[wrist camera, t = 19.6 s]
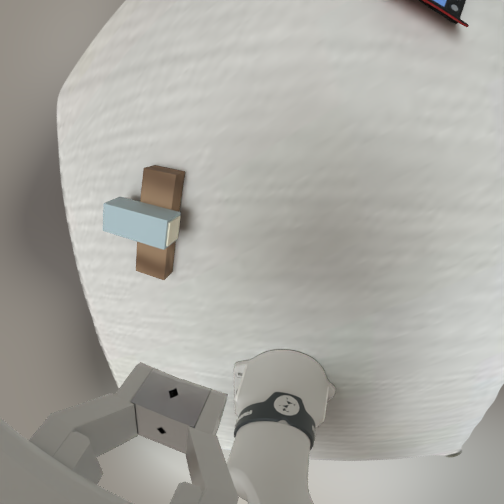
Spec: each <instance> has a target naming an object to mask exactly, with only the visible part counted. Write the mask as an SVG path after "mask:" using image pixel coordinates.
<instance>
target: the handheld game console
mask: <svg viewBox="0 0 504 504" xmlns="http://www.w3.org/2000/svg"><path fill="white" fill-rule="evenodd" d="M419 1H421V2H423V3H424V4H425V5H427V6H428V7H429V8H431V9H433V10H434V11H436V12H438V13H439V14H441V15H442V16H444V17H446V18H447V19H448V20H449V21H451V22H453V23H455V24H457V23H458V22H459V23H460V24H462V25H464V26H466V27H468V24H467V23H465V22H464V21H462V20H461V19H460V16H461V13H462V10H463V7H464V4H465V1H466V0H419Z"/></svg>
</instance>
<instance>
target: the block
mask: <svg viewBox="0 0 504 504" xmlns="http://www.w3.org/2000/svg"><path fill="white" fill-rule="evenodd" d="M180 213H181V212H178V211H174V210H170V209H166V208H162V207H159V206H155V205H151V204H147V203H143V202H139V201H135V200H131V199H127V198H123V197H118V198H115V199H113V200H111V201H108V202H106V203H104V210H103V231H106V232H109V233H112V234H115V235H118V236H121V237H125V238H128V239H131V240H134V241H137V242H140V243H144V244H147V245H150V246H153V247H157V248H160V249H163V250H165V249H166V248H167V247H168V246H170V245H171V244H172V243H173V242H174V241H176V240H177V238H178V233H179V225H180V217H181V216H180Z"/></svg>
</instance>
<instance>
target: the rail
mask: <svg viewBox="0 0 504 504" xmlns="http://www.w3.org/2000/svg"><path fill="white" fill-rule="evenodd" d="M184 176H185V172H184V171H180V170H175V169H170V168H165V167H161V166H156V165H153V166H150V167H146V168H144V171H143V180H142V189H141V199H140V202H143V203H147V204H151V205H155V206H159V207H162V208H166V209H170V210H174V211H178V212H179V210H180V203H181V196H182V189H183V182H184ZM175 242H176V241H174V242H173V243H172V244H171V245H170V246H168V247H167V248H166V249H165V250H163V249H160V248H157V247H153V246H150V245H147V244H144V243H140V242H137V256H136V271H138V272H141V273H144V274H147V275H150V276H153V277H156V278H159V279H162V280H165V279H166V278H167V277H168V276H169V275H170V274H171V273H172V270H173V260H174V251H175Z"/></svg>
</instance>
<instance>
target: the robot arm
mask: <svg viewBox="0 0 504 504" xmlns="http://www.w3.org/2000/svg"><path fill="white" fill-rule="evenodd" d="M335 392H336V388H335V387H334V386H333V385H332V384H331V383H330V382H329V381H328V380H327V377H326V374H325V372H324V370H323V368H322V367H321V365H320V364H319V363H318V362H317V361H316V360H314V359H313V358H311V357H309V356H308V355H305V354H303V353H300V352H296V351H292V350H272V351H268V352H265V353H262V354H260V355H258V356H256V357H254V358H253V359H251V360H246V361H240V362H237V363H235V365H234V401H235V414H236V416H238V419H237V421H236V425H235V431H234V437H235V440H234V443H233V446H232V449H231V452H230V455H229V458H228V462H227V464H226V461H225V458H224V455H223V453H222V449H221V446H220V443H219V440H218V437H217V436H216V433H217V430H218V428H219V424H220V421H221V418H222V415H223V411H224V407H225V404H226V400H227V396H228V394H225V393H222V392H219V391H216V390H212V389H210V388H207V387H204V386H201V385H198V384H195V383H192V382H189V381H187V380H184V379H179V378H177V377H175V376H172V375H170V374H167V373H165V372H162V371H160V370H158V369H155V368H153V367H151V366H148V365H146V364H144V363H141V362H140V363H139V364H138V365H136V367H135V368H134V369H133V371H132V372H131V373H130V375H129V376H128V377H127V379H126V380H125V382H124V383H123V384H122V386H121V387H120V388H119V390H118V391H117V393H116V394H115V395H114V394H112V393H110V394H107V395H104V396H101V397H99V398H96V399H93V400H90V401H87V402H84V403H82V404H78V405H75V406H72V407H69V408H66V409H64V410H60V411H57V412H54V413H51V414H50V415H49V416H48V418H47V419H46V420H45V421H44V423H43V424H42V425H41V426H40V428H38V430H37V431H36V432H35V433H34V435H33V436H32V437H31V438H30V440H28V439H26V438H25V437H24V436H22V435H21V434H20V433H18V432H17V431H16V430H15V429H14V428H12V427H11V426H10V425H9V424H8V423H6V422H5V421H4V420H3V419H2V418H0V504H135V503H133V502H131V501H129V500H126V499H124V498H122V497H120V496H118V495H116V494H114V493H112V492H110V491H108V490H106V489H104V488H102V487H101V486H99V485H97V484H98V482H99V480H100V479H101V477H102V475H103V472H102V469H101V467H100V464H99V462H98V460H97V458H96V457H98V456H100V455H102V454H104V453H106V452H108V451H110V450H112V449H114V448H116V447H118V446H119V445H122V444H124V443H125V442H127V441H129V440H131V439H133V438H134V437H137V436H138V435H141V436H143V437H145V438H148V439H150V440H153V441H155V442H158V443H161V444H163V445H165V446H168V447H170V448H173V449H175V450H178V451H180V452H182V453H185V454H186V459H187V463H188V468H189V472H190V476H191V480H192V484H190V483H186V482H183V483H180V484H179V485H178V487H177V489H176V491H175V493H174V496H173V498H172V500H171V502H170V504H237V501H238V498H239V497H241V498H242V499H244V500H246V501H247V502H248V504H314V503H313V501H312V499H311V496H310V494H309V489H308V465H309V454H310V450H311V449H312V447H313V443H314V440H315V434H316V432H315V428H317V427H319V425H320V424H321V423H323V422H324V419H325V414H326V406H327V403H328V402H329V400H330V399H331V398H332V397H333V396H334V395H335ZM238 496H239V497H238Z"/></svg>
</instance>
